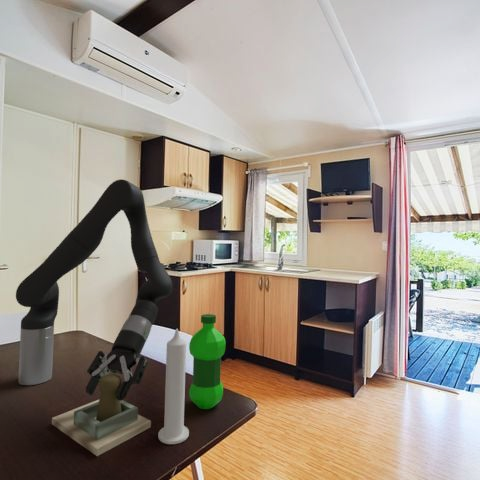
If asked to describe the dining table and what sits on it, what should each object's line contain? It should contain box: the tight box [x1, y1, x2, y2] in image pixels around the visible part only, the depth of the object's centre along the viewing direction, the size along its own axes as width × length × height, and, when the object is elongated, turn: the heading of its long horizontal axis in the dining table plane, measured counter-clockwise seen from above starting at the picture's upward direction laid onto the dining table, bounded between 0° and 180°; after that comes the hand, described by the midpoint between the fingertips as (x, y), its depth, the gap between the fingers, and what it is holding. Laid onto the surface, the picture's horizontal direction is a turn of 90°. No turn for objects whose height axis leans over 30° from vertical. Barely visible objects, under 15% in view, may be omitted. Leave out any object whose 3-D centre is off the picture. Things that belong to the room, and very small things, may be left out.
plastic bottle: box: [188, 313, 226, 410], centre depth 91 cm, size 10×10×25 cm
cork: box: [96, 373, 123, 422], centre depth 78 cm, size 6×6×11 cm
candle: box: [157, 328, 190, 445], centre depth 76 cm, size 7×7×25 cm
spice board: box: [51, 399, 152, 457], centre depth 79 cm, size 20×14×4 cm
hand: (103, 396), depth 77 cm, fingers open, 8 cm apart
